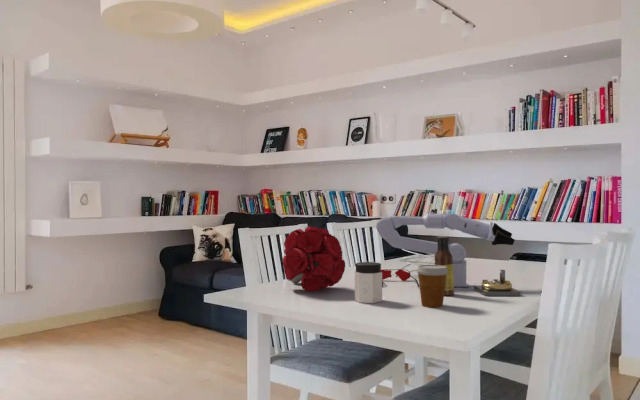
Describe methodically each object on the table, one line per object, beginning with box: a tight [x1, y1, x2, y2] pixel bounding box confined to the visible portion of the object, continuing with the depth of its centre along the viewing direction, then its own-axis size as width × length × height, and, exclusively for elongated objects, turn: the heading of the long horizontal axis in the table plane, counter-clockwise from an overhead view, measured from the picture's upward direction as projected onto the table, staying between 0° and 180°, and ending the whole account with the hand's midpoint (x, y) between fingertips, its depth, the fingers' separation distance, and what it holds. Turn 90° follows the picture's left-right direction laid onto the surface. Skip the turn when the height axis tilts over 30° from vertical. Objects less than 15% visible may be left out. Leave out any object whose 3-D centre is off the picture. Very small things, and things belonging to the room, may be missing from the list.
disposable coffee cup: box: [415, 264, 448, 308], centre depth 158 cm, size 10×10×12 cm
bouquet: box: [282, 225, 346, 292], centre depth 187 cm, size 22×24×30 cm
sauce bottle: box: [434, 235, 455, 297], centre depth 176 cm, size 6×6×20 cm
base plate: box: [473, 285, 521, 297], centre depth 179 cm, size 12×12×2 cm
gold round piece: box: [481, 269, 513, 291], centre depth 179 cm, size 10×10×6 cm
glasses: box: [381, 268, 420, 288], centre depth 198 cm, size 14×16×5 cm
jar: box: [354, 261, 383, 304], centre depth 165 cm, size 9×8×12 cm
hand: (512, 239), depth 190 cm, fingers open, 7 cm apart
